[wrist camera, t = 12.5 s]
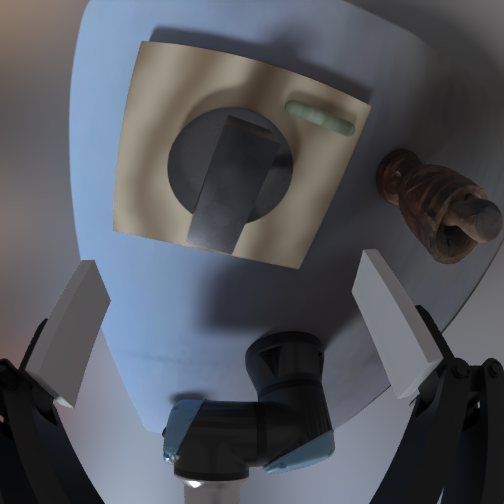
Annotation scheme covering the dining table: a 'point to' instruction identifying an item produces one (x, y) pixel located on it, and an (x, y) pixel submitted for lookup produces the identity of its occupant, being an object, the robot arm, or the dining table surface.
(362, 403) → the dining table surface
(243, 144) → the dial knob
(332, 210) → the dining table surface
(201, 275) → the dining table surface
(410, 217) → the mortar and pestle
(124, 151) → the base plate
